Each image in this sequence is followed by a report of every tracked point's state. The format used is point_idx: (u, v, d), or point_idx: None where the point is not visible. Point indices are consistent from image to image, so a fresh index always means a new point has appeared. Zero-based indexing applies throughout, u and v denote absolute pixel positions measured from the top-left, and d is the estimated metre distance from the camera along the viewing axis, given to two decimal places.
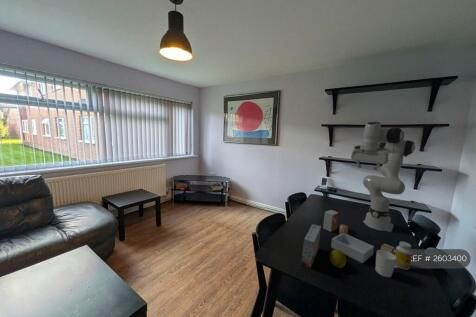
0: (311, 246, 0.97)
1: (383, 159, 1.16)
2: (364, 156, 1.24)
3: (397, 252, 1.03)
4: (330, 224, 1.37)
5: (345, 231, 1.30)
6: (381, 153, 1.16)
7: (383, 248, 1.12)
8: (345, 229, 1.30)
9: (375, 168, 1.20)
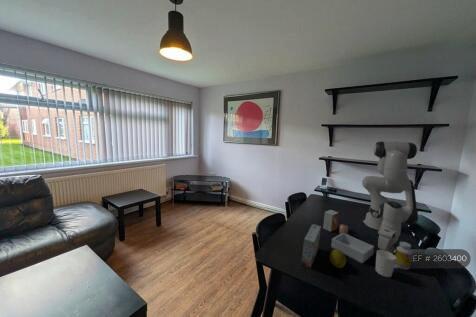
0: (311, 246, 0.97)
1: (397, 237, 1.15)
2: (391, 241, 1.10)
3: (397, 252, 1.03)
4: (330, 224, 1.37)
5: (345, 231, 1.30)
6: None
7: None
8: (345, 229, 1.30)
9: None
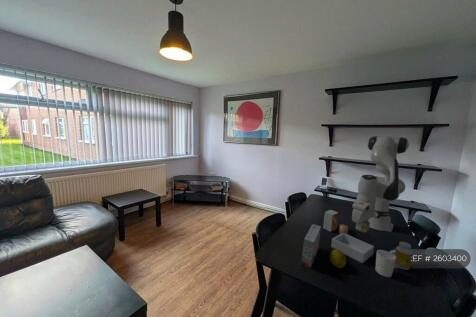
0: (311, 246, 0.97)
1: (373, 212, 1.12)
2: (366, 215, 1.06)
3: (397, 252, 1.03)
4: (330, 224, 1.37)
5: (345, 231, 1.30)
6: None
7: None
8: (345, 229, 1.30)
9: None
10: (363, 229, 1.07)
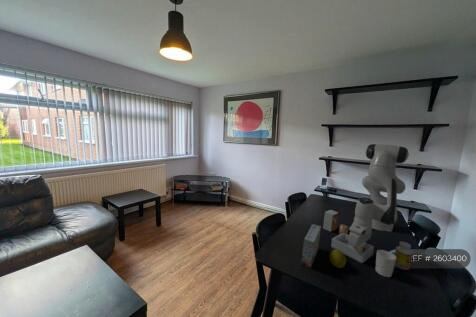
0: (311, 246, 0.97)
1: (370, 234, 1.14)
2: (362, 238, 1.08)
3: (397, 252, 1.03)
4: (330, 224, 1.37)
5: (345, 231, 1.30)
6: (370, 229, 1.13)
7: None
8: (345, 229, 1.30)
9: (364, 245, 1.13)
10: None
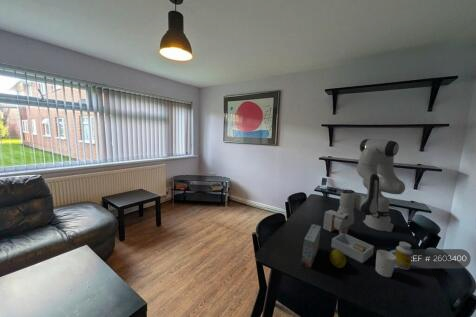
0: (311, 246, 0.97)
1: (353, 220, 1.35)
2: (346, 222, 1.29)
3: (397, 252, 1.03)
4: (330, 224, 1.37)
5: (345, 231, 1.30)
6: (352, 216, 1.34)
7: (355, 247, 1.11)
8: (345, 229, 1.30)
9: None
10: None
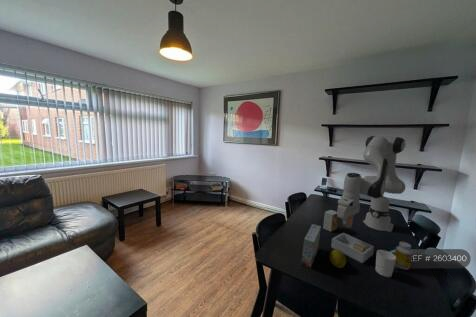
0: (311, 246, 0.97)
1: (358, 208, 1.19)
2: (350, 210, 1.13)
3: (397, 252, 1.03)
4: (330, 224, 1.37)
5: (350, 220, 1.14)
6: (358, 203, 1.18)
7: (355, 247, 1.11)
8: (350, 218, 1.14)
9: None
10: None
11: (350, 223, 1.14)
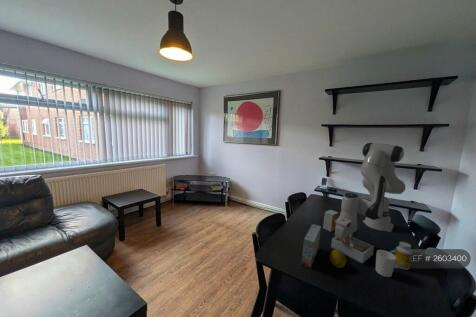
0: (311, 246, 0.97)
1: (356, 227, 1.20)
2: (348, 230, 1.14)
3: (397, 252, 1.03)
4: (330, 224, 1.37)
5: (347, 242, 1.16)
6: (356, 223, 1.19)
7: (355, 247, 1.11)
8: (347, 240, 1.15)
9: None
10: None
11: None
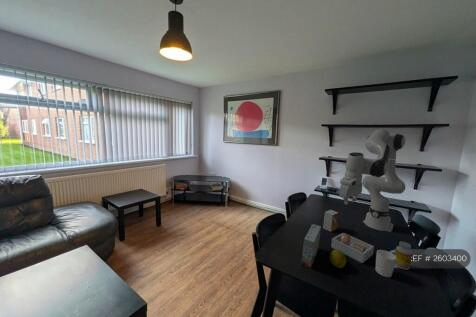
0: (311, 246, 0.97)
1: (361, 189, 1.17)
2: (353, 190, 1.11)
3: (397, 252, 1.03)
4: (330, 224, 1.37)
5: (347, 242, 1.16)
6: (361, 184, 1.16)
7: (355, 247, 1.11)
8: (347, 240, 1.15)
9: (355, 199, 1.17)
10: None
11: None
